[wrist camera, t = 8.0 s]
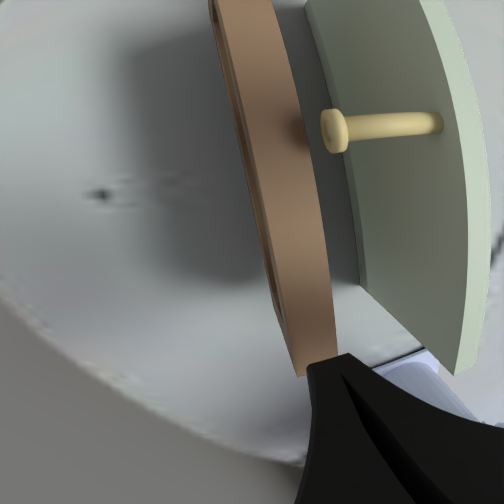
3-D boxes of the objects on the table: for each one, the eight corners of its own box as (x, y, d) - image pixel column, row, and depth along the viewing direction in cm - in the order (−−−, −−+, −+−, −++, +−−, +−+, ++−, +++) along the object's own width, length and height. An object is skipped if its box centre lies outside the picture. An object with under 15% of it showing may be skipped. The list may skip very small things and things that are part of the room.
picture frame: (302, 299, 16) (338, 365, 10) (273, 306, 16) (297, 377, 10) (240, 6, 12) (249, -63, 6) (209, 12, 12) (202, -58, 6)
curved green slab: (411, 270, 19) (515, 339, 9) (303, 300, 19) (366, 413, 9) (361, 8, 14) (443, -70, 4) (242, 12, 14) (258, -105, 4)
